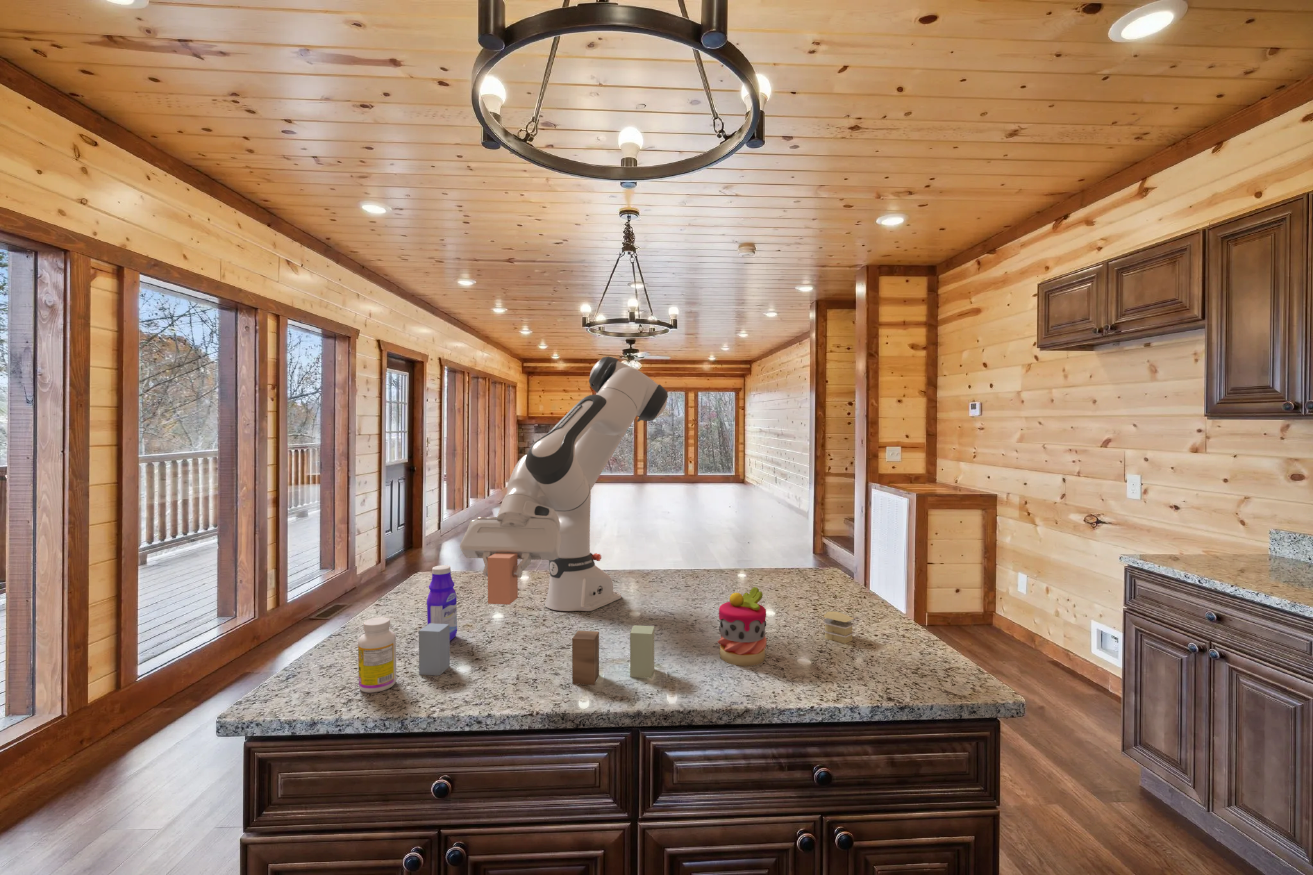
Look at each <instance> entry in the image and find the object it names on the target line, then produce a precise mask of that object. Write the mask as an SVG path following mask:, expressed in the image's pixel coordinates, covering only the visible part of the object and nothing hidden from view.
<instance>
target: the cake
mask: <svg viewBox="0 0 1313 875" xmlns="http://www.w3.org/2000/svg"><path fill="white" fill-rule="evenodd" d="M759 589H760V588H758V587H756V586H753V587H752V588H751V590H750V591H749V593H748V592H744V594H743V595H742V594H741V593H740V592H733V593H731V594H730V596H729V601H727V602H723V603H722V604H721V605H720V606H719V608H718V618H719V627H718V628H719V635H720V638H719V640H718V641H717V643H718V644H719V658H720V659H721V660H722V661H723V662H724V663H726V664H730V665H733V666H740V667H752V666H757V665H760V664H762V663H763V662H764V661H765V659H766V647H767V643H768V642H767V637H766V627H767V621H766V618H767V610H766V607H764V605H761V604H760V603H759V602H760V601H761V600H762V598H763V592H762V591H760V590H759Z"/></svg>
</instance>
